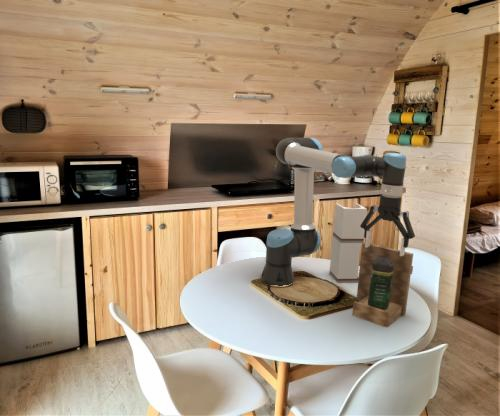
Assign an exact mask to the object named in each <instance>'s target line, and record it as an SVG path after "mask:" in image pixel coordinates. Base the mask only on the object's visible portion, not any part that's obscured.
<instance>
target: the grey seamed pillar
mask: <svg viewBox="0 0 500 416" xmlns="http://www.w3.org/2000/svg"><path fill="white" fill-rule="evenodd" d="M367 212H368V208H367V207H364V206H363V205H361V204H359V203H355V206H354V208H353V207H345V206H342V205H341V204H340V203H337V202H335V206H334V218H333V220H334V221H333V226H332V227H333V228H332V229H333V230H332V240H331V251H330V252H331V253H330V263H329V273H328V274H329V276H330V277H332V278H331V279H333V280H334V281H335V282H336V283H337V284H344V283H345V284H355V283H356V284H358V280H359V268H360V258H361V248H362V243H364V242H365V241H364V240H365V238H364V232H365V230H364V229H363V228H361V227H360V225H361V224H362V222H363V221H364V219H365V218H366V216H367V214H368V213H367Z"/></svg>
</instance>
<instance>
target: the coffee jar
mask: <svg viewBox="0 0 500 416" xmlns="http://www.w3.org/2000/svg"><path fill="white" fill-rule="evenodd" d="M393 267H394V265H393V262H392V261H391V260H390V259H389V258H383V257H378V258H376V259H374V260H373V263H372V271H371V280H370V289H369V296H368V305H369V306H372V307H375V308H378V309H387V308H388V306H389V300H390V292H391V285H392V277H393Z"/></svg>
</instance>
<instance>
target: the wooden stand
mask: <svg viewBox="0 0 500 416" xmlns="http://www.w3.org/2000/svg"><path fill="white" fill-rule="evenodd" d="M365 243H366V241H364V242H363V243H362V246H361V250H360V260H359V269H358V277H359V280H358V283H357V290H356V291H357V292H356V300H357V299H358V300H360V301H356V300H354V301H353V303H352V311H351V312H352V313H351V314H352V316H354V317H355V318H356V317H357V318H358V319H359V318H360V319H362V320H366V321H368V322H371V323H373V324H376V325H379V326H383V327H386V328H388V327H390V326H391V324H393V323H394V322H395V321H396V320H397V319H399V318H400V317H401V316H402V315H403V317H404V316H405V315H406V313H407V305H408V298H409V290H410V283H411V275H412V274H413V270H414V266H413V261H414V260H413V258H414V253H413V252H412V253H411V252H408V251H405V253H404V255H403V256H400V249H397V248H396V249H395V248H391V247H386V246H383V245H378V244H374V243H370V246H369V247H367V248H366V247H365ZM378 257H383V258H389V259H390V260H391V261H392V262H393V265H394V267H393V277H392V285H391V292H390V300H389V306H388V308H387V309H378V308H375V307H372V306H369V305H368V296H369V289H370V280H371V271H372V263H373V260H374V259H376V258H378ZM399 316H400V317H399Z"/></svg>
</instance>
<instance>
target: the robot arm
mask: <svg viewBox="0 0 500 416" xmlns="http://www.w3.org/2000/svg"><path fill="white" fill-rule="evenodd" d="M275 155H276V158H277V160H278V161H280V162H281V163H282V164H285V165H288V166H289V165H290V166H291V169H292V170H294V196H293V197H294V199H293V200H294V203H293V205H294V206H293V207H294V208H293V210H294V211H293V223H292V224H291V225H290V229H287V228H278V229H274V230H271V231H270V232H269V233H267V237H266V242H265V243H266V250H265V251H266V253H265V264H264V267H263V270H262V273H261V275H260V281H262V282H263V283H262V282H261V283H262V284H264V283H265V284H267V285H266V286H268V285H278V286H283V285H289V284H291V283H293V282H294V283H295V276H294V272H293V267H292V262H293V261H292V260H293V258H297V257H303V256H308V255H309V256H310V255H312V254H314V253H316V252H317V251H318V250H319V248H320V247H321V242H322V241H321V235H320V232H319V231H318V230H317V227H316V225H314V222H313V221H314V220H313V219H314V218H313V217H314V216H313V215H314V187H315V186H314V183H315V182H314V179H315V178H314V177H315V172H316V170H319V171H323V172H327V173H331V174H334V176H335V177H336V178H340V179H342V178H343V179H348V178H358V177H361V178H362V177H376V178H381V187H380V194H381V195H380V196H379V202H378V203H379V204H378V205H379V206H377V205H376V204H373V205H371V206H370V209H369V212H368V213H367V214H366V218H365V219H364V221H363V222H362V224H361V225H360V227H361V228H363V229H364V230H365V232H364V239H365V242H366V243H365V247H366V248H367V247H369V246H370V244H371V239H372V229H371V228H372V227H373V226H375V225H376V224H377V223H378V222H379V221H380V220H383V221H388V222H393V223H394V224H395V226H396V228H398V231H399V232H400V234H401V235H402V238H401V243H400V249H399V250H400V256H403V255H404V253H405V252H406V249H407V248H408V247H409V242H410V240H411V239H413V238H415V237H416V235H415V232H414V229H413V226H412V223H411V221H410V217H409V216H410V213H409V211H407V210H406V211H402V210H401V205H402V196H403V188H404V181H405V174H406V169H407V156H406V154H404V153H396V152H386V153H385V155H384V156H383V157H382V156H378V155H377V156H376V155H372V154H361V155H359V156H358V155H356V156H350V155H345V154H339V153H335V152H330V151H325V150H324V149H323V146H322V143H321V142H320V141H319V140H318V139H317V138H313V137H286V138H283V139H281V140H280V141H279V142H278V143H277V146H276V148H275ZM376 212H378V215H377V216H376V217H375V218H374V219H372V221H371V222H370V220H371V218H372V217H373V215H374V214H375V213H376ZM399 216H401V217H402V220H403V223H404V224H403V223H402V221H401V219H400V217H399ZM369 222H370V223H369ZM265 284H264V285H265Z"/></svg>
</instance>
